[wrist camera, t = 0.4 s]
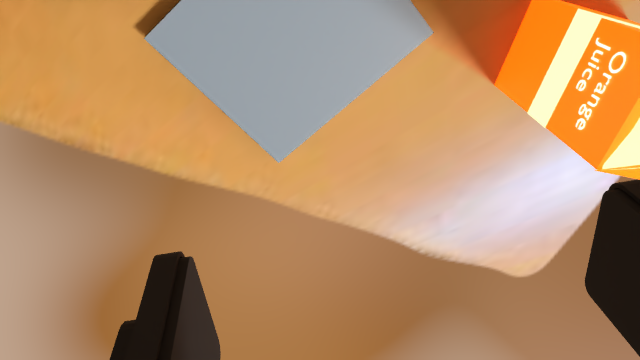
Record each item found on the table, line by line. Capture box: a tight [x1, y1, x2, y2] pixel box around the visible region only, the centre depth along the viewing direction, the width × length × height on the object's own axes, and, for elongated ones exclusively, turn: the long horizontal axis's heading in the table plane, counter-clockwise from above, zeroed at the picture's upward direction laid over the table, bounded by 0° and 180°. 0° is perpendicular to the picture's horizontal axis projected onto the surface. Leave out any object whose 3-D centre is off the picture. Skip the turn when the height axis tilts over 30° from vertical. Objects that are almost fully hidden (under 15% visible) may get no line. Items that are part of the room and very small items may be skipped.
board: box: [144, 0, 434, 163], centre depth 37 cm, size 16×14×1 cm
